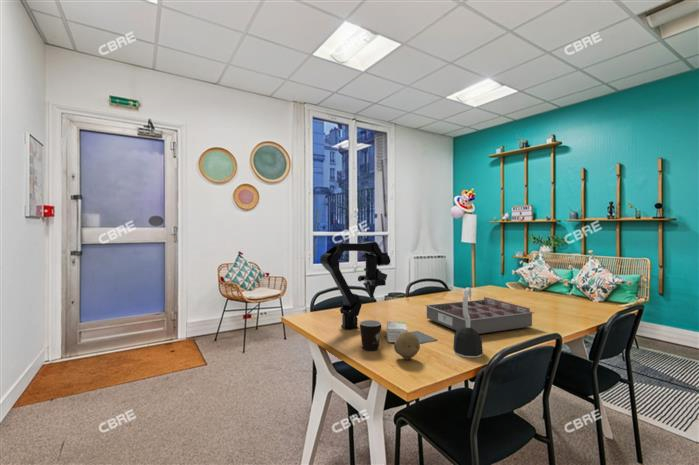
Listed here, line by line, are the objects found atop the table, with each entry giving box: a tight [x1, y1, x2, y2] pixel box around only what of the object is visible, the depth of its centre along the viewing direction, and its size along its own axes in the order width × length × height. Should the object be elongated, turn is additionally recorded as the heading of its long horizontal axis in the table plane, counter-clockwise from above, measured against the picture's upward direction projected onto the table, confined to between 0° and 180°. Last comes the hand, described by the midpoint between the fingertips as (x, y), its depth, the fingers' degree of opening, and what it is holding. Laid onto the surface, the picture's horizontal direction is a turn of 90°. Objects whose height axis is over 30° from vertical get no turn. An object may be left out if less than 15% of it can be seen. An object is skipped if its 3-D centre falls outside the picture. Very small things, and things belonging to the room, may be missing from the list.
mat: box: [383, 330, 438, 344], centre depth 145 cm, size 18×14×1 cm
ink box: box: [386, 321, 408, 343], centre depth 145 cm, size 9×5×15 cm
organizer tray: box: [424, 296, 535, 335], centre depth 167 cm, size 32×40×10 cm
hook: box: [452, 287, 484, 358], centre depth 128 cm, size 11×11×25 cm
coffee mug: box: [359, 319, 382, 352], centre depth 133 cm, size 12×9×10 cm
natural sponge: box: [393, 331, 421, 360], centre depth 121 cm, size 9×9×10 cm
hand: (371, 297), depth 168 cm, fingers closed
